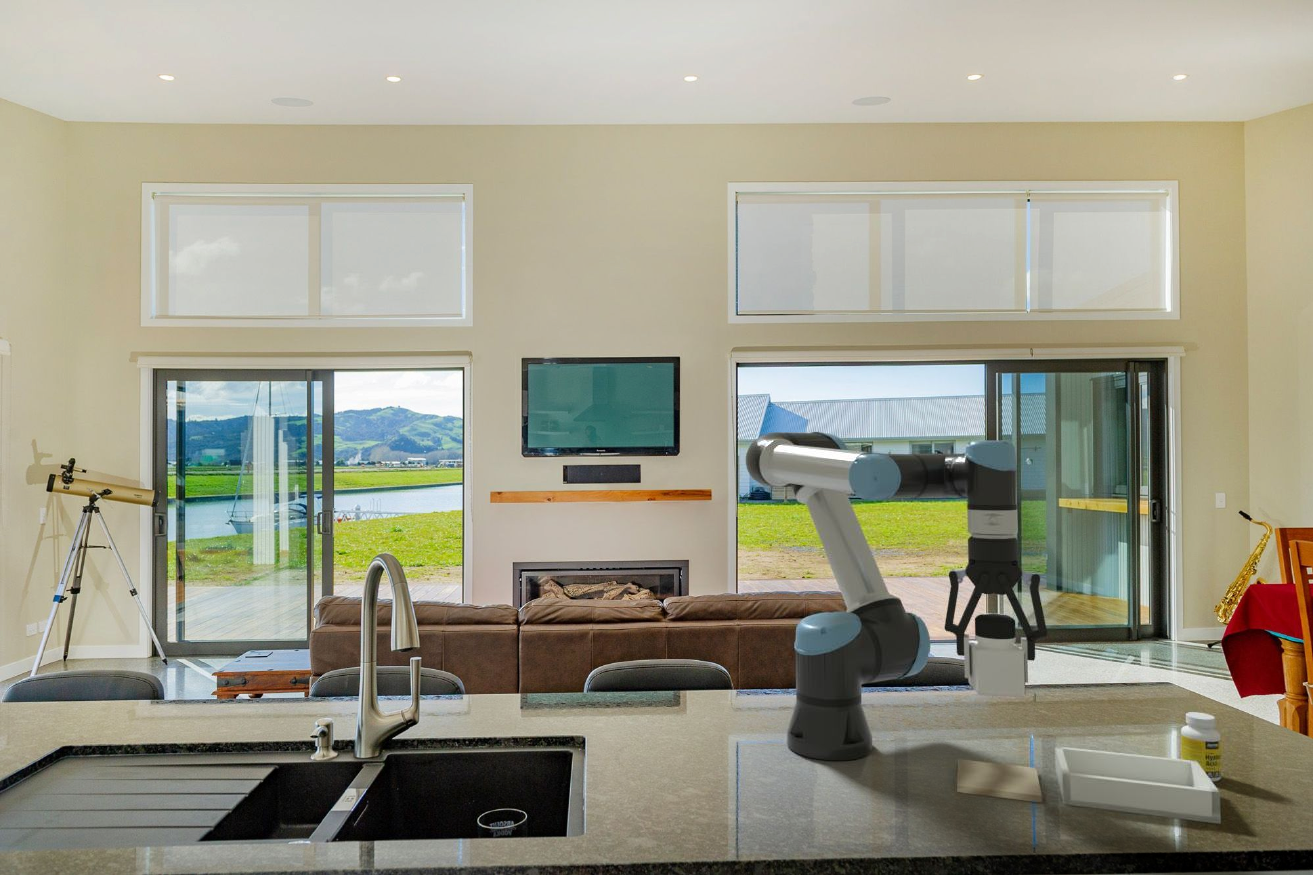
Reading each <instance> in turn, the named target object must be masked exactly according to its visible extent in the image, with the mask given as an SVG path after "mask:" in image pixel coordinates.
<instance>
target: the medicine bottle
mask: <svg viewBox="0 0 1313 875" xmlns="http://www.w3.org/2000/svg"><path fill="white" fill-rule="evenodd" d="M1016 633H1017V632H1016V619H1014V618H1013V617H1012V616H1010V615H1007V614H1003V613H993V612H991V613H989V612H988V613H980V614H979V615H976V616H975V617H974V639H975V640H969V660H970V678H968V683H969V685H970V686H971V687H972V688H973V690H974V692H976V694H978V696H992V697H1019V698H1020V697H1025V696H1026V683H1025V653H1024V651H1023V650H1022V649H1021V647H1019V646H1018V645H1017V644H1015V643H1016V641H1017V637H1016Z"/></svg>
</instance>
